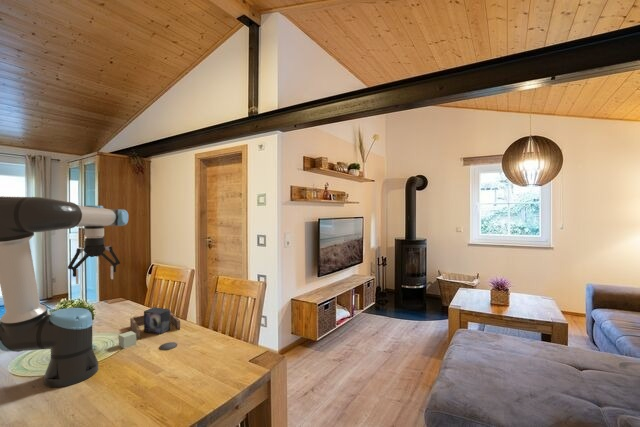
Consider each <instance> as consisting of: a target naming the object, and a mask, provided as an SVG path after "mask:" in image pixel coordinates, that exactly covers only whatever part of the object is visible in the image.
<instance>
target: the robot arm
mask: <svg viewBox="0 0 640 427" xmlns="http://www.w3.org/2000/svg"><path fill="white" fill-rule="evenodd" d="M104 207H105V206H103V205H91V204H90V205H78V204H76V203H75V202H72V201H71V202H70V201H64V200H59V199H54V198H47V197H41V196H4V195H3V196H0V290H1V296H2V300H3V305H4V310H5V313H3V315H2V316H0V350H1V351H3V352H13V353H14V352H16V353H18V352H23V351H24V352H26V351H39V350H50V359H49V362H48V365H47V367H46V370H45V373H44V377H43V384H44V386H46V387H47V388H60V387H68V386H72V385H75V384H77V383H80V382H82V381H85V380H87V379H89V378H91V377H92V376H94V375H96V374H97V373H98V370H99V361H98V359H97V356H96V354H95V352H94V349H93V324H94V321H93V315H92V312H91V311H90V310H89V309H87V308H84V307H69V308H61V309H60V308H59V309H56V310H54V311H52V312H51V313H50V314H49V312H48V308H47V306H46V305H44V304H41V302H40V296H39V289H38V284H37V278H36V273H35V267H34V261H33V260H34V259H33V256H32V251H31V245H30V240H31V239H32V238H33V237H34V236H35V233H43V232H51V231H59V230H69V229H73V228H75V227H84V237H85V239H84V248H79V247H78V248H76V251H75V253H74V255H73V258H72V259H71V261H70V262H69V264H68V265H67V269H68V270H72V277H75V284H76V285H78V284H79V267H80V266H81V265H82V264H83V263H84V262H85V261H86V260H87V259H88V258H89V257H90V258H94V257H97V258H98V257H100V256H102V258H104V259H105V260H106V261H107V262H109V263H110V280H114V273H116V270H117V265H120V264H121V262H120V260H119V258H118V256H117V255H116V253H115V252H114V249H113V246H111V245H109V246H105V227H115V226H116V227H122V226H126V225H127V224H128V222H129V213H128V211H127V210H126V209H119V208H118V209H113V208H104ZM105 251H108V252H109V254H110V255H111V257H112V258H113V260H114V261H115V262H114V261H113V260H112V259H111V258H110V257H109V256H107V255H106V254H105V253H104V252H105ZM82 252H84V253H85V254H84V255H83V256H82V257H81V259H80V260H79V261H78V262H77V263H75V262H76V261H77V260H78V258H79V255H80V254H82Z"/></svg>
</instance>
